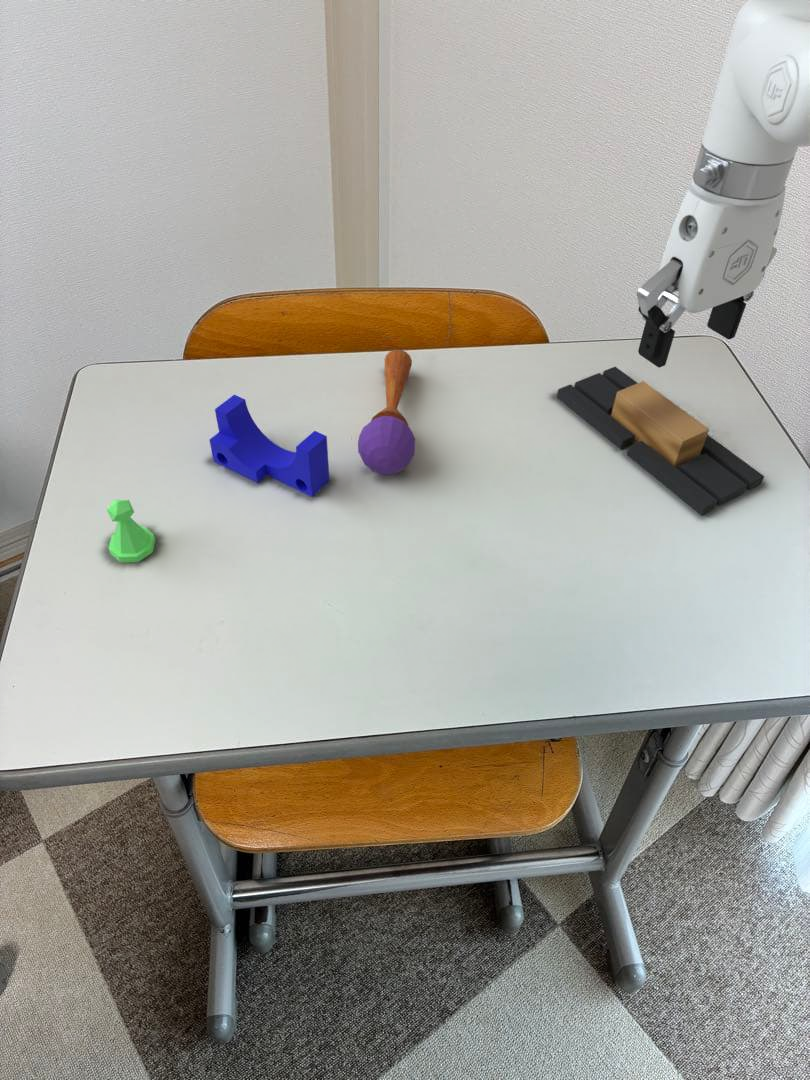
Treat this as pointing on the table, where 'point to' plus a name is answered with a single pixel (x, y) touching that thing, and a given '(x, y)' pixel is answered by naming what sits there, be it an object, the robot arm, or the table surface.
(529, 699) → the table surface
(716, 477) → the pad
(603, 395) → the pad
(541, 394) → the table surface
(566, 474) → the table surface
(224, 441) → the blue cradle bracket
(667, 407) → the block
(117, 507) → the game piece
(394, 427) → the kendama
